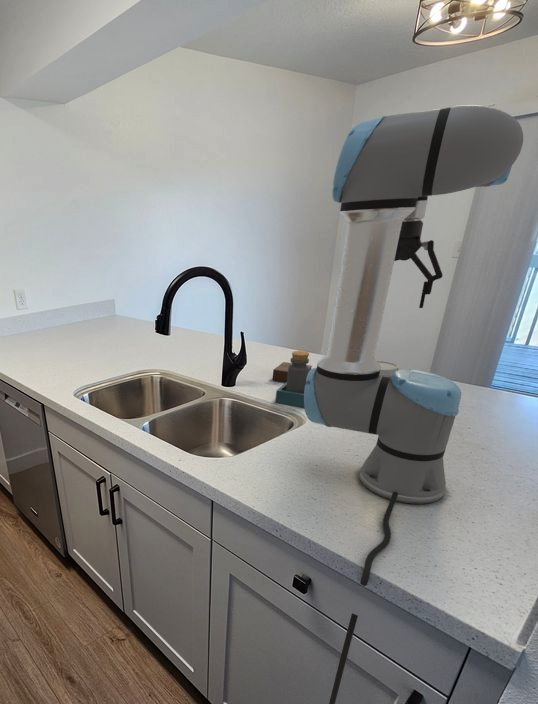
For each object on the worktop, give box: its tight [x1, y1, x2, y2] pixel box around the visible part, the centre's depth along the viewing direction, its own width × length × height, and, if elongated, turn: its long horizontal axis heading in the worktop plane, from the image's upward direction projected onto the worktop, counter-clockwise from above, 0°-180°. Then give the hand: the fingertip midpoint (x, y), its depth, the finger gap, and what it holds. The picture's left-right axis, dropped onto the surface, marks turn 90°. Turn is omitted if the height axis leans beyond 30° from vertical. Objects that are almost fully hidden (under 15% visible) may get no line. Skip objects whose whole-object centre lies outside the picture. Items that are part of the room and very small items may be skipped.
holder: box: [274, 382, 305, 409], centre depth 133 cm, size 9×9×4 cm
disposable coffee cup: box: [376, 360, 400, 377], centre depth 126 cm, size 10×10×12 cm
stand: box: [271, 361, 313, 384], centre depth 151 cm, size 10×10×4 cm
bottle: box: [286, 350, 310, 394], centre depth 131 cm, size 6×6×15 cm
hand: (392, 307), depth 120 cm, fingers open, 13 cm apart
